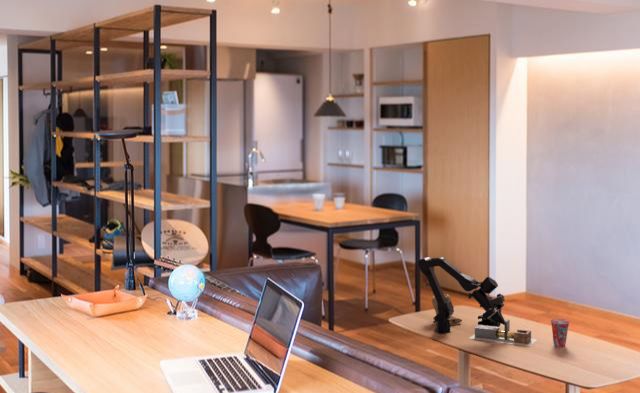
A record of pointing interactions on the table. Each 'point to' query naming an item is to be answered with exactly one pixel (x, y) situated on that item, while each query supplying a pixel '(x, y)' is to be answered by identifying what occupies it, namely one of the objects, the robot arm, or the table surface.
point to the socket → (522, 336)
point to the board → (501, 340)
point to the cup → (559, 331)
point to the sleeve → (486, 332)
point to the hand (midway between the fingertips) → (505, 324)
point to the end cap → (488, 322)
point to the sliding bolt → (505, 331)
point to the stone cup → (452, 319)
